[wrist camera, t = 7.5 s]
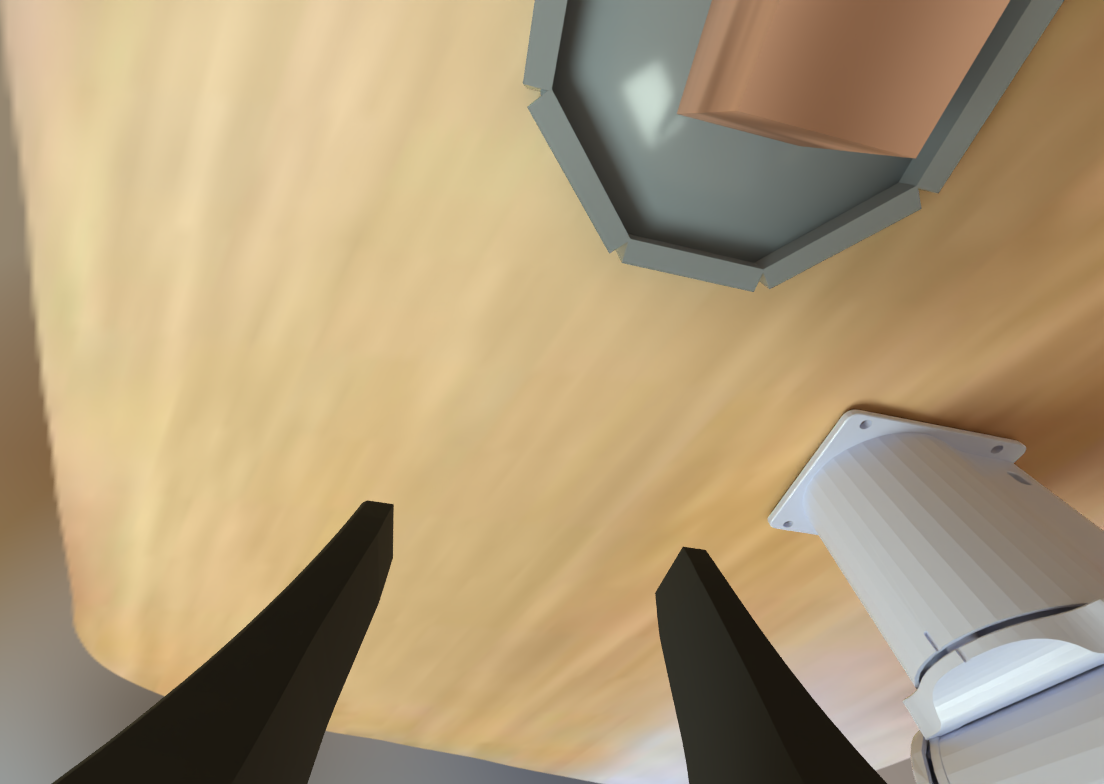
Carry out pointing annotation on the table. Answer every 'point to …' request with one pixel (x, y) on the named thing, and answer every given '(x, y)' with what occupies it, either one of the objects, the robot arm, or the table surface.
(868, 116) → the block
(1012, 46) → the dish
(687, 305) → the table surface
